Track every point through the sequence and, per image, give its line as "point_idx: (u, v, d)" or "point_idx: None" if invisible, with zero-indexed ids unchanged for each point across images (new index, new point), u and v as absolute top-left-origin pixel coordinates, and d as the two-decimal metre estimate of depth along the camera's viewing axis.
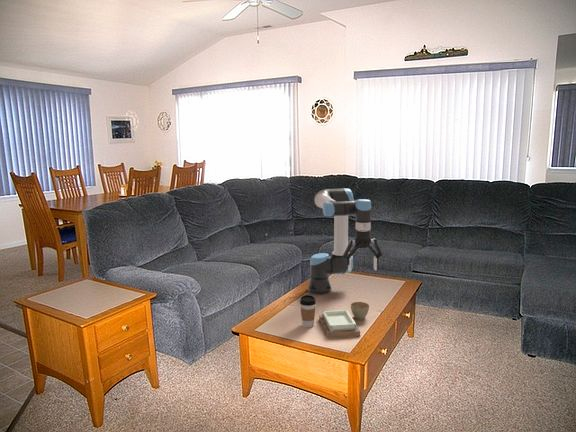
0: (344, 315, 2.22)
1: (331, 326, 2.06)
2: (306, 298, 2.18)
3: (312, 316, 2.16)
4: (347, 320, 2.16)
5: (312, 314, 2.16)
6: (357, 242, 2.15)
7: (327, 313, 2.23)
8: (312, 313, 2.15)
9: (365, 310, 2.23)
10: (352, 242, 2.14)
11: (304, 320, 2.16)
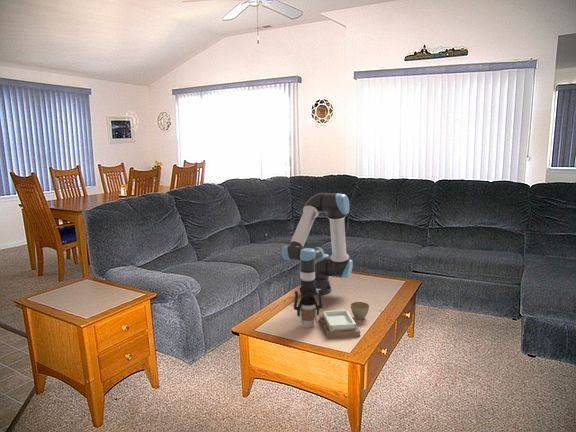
0: (344, 315, 2.22)
1: (331, 326, 2.06)
2: (306, 298, 2.18)
3: (312, 316, 2.16)
4: (347, 320, 2.16)
5: (312, 314, 2.16)
6: (302, 291, 2.15)
7: (327, 313, 2.23)
8: (312, 313, 2.15)
9: (365, 310, 2.23)
10: (297, 293, 2.14)
11: (304, 320, 2.16)
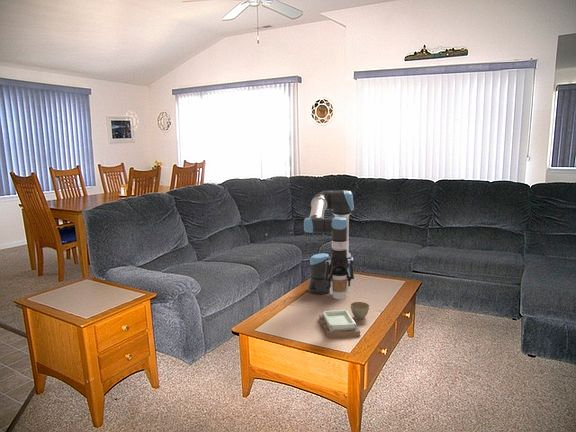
0: (344, 315, 2.22)
1: (331, 326, 2.06)
2: (337, 269, 2.12)
3: (343, 287, 2.10)
4: (347, 320, 2.16)
5: (344, 285, 2.10)
6: (333, 261, 2.09)
7: (327, 313, 2.23)
8: (344, 284, 2.09)
9: (365, 310, 2.23)
10: (328, 263, 2.08)
11: (335, 291, 2.10)
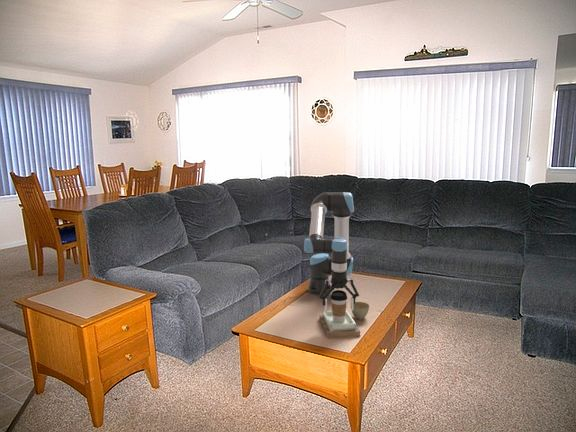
0: None
1: (331, 326, 2.06)
2: (337, 293, 2.15)
3: (343, 311, 2.12)
4: (347, 320, 2.16)
5: (343, 309, 2.12)
6: (333, 282, 2.11)
7: (327, 313, 2.23)
8: (343, 308, 2.12)
9: (365, 310, 2.23)
10: (328, 283, 2.10)
11: (335, 315, 2.13)
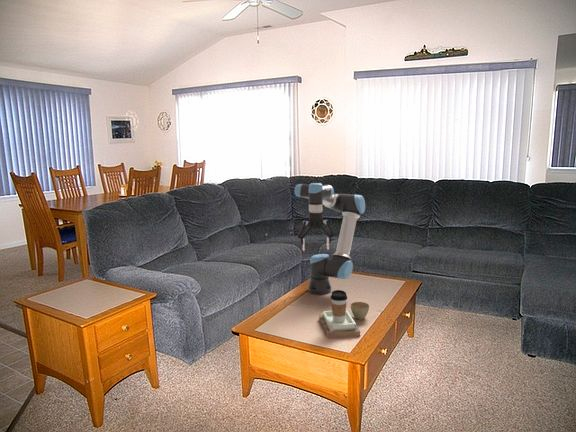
0: None
1: (331, 326, 2.06)
2: (337, 293, 2.15)
3: (343, 311, 2.12)
4: (347, 320, 2.16)
5: (343, 309, 2.12)
6: (310, 223, 2.30)
7: (327, 313, 2.23)
8: (343, 308, 2.12)
9: (365, 310, 2.23)
10: (305, 223, 2.29)
11: (335, 315, 2.13)
